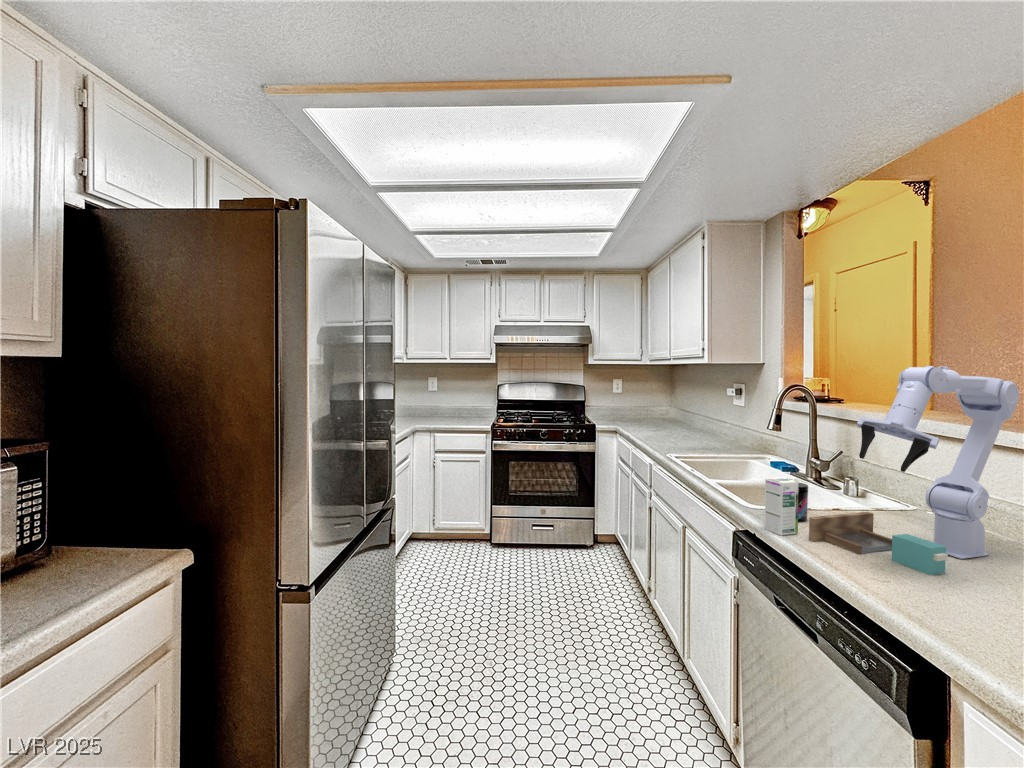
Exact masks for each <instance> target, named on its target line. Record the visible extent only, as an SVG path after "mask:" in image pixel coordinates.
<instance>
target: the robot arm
mask: <svg viewBox="0 0 1024 768" xmlns="http://www.w3.org/2000/svg"><path fill="white" fill-rule="evenodd" d="M954 392H955V394H956V395H955V396H956V398H957V400H958V403H959V404H960V407H961V410H962V412H963V414H964V415H965V416H967V417H969V418H970V419H972V423H971V425H970V427H969V429H968V431H967V434H966V437H965V439H964V441H963V444H962V446H961V448H960V450H959V453H958V454H957V458H956V460H955V462H954V465H953V467H952V468H951V472H950V473H948V474H945V475H942V476H940V477H937V478H935V479H934V482H933V484H932V485H931V486H930V487H928V489H927V490H926V492H925V503H926V504H927V507H928V508H929V509H931V513H933V514H934V529H933V530H934V532H933V542H934V543H937V544H940V545H943V546H946V554H948V556H951V557H954V558H957V559H960V560H966V559H971V558H972V559H973V558H979V557H986V556H989V553H987V552H985V534H986V533H985V531H986V530H985V529H986V528H985V526H984V524H983V522H982V520H980V519H982V518H983V517H985V515H986V514H987V511H988V502H989V499H990V494H989V492H988V490H987V489H986V488H985V487H984V486H983V484H981V483H979V481H980V478H981V476H982V474H983V471H984V468H985V466H986V464H987V462H988V459H989V457H990V455H991V452H992V450H993V448H994V445H995V442H996V440H997V438H998V435H999V433H1000V430H1001V429H1002V426H1003V424H1004V422H1005V421H1006V420H1009V419H1012V416H1013V414H1014V413H1015V410H1016V408H1017V405H1018V403H1019V401H1020V391H1019V387H1018V385H1016V383H1015V382H1014V381H1011V380H1006V381H1005V379H1002V378H995V377H987V376H976V375H973V376H972V375H961V374H960V373H958V372H957V371H955V370H953V369H949V366H936V367H935V366H934V365H925V366H924V367H923V366H922V367H920V366H919V367H918V366H913V367H912V366H911V367H907V368H906V369H904V370H902V371H900V372H899V375H898V385H897V387H896V393H897V394H896V396H895V398H894V400H893V402H892V404H891V406H890V409H889V410H888V413H887V415H886V416H885V418H884V420H882V419H875V418H874V419H873V418H866V417H862V416H860V417H859V418H858V420H857V422H856V426H857V427H858V428H861V430H860V431H861V446H860V452H859V454H858V456H859V458H860V459H861V460H864V459H865V457H866V455H867V452H868V449H869V447H870V445H871V444H872V442H873V441H874V439H875V437H876V432H879V433H882V434H885V435H888V436H892V437H895V438H900V439H903V440H906V441H910V442H912V443H911V446H910V447H909V451H908V453H907V454H906V457H905V459H903V462H902V463H901V466H900V472H902V473H906V471H907V470H908V468H909V467H910V466H912V464H913V463H914V462H916V461H917V460H918V459H919V458H921V457H923V456H924V455H926V454H927V453H928V452H929V449H930V448H931V449H932V450H933V449H934V450H937V447H938V445H939V443H940V438H939V437H937V436H933V435H931V434H927V433H925V432H923V431H921V430H917V428H918V425H919V423H920V420H921V418H922V417H923V415H924V412H925V410H926V408H927V406H928V404H929V402H930V400H931V397H932V395H933V393H934V394H935V393H936V394H952V393H954Z"/></svg>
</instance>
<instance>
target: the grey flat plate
mask: <svg viewBox="0 0 1024 768" xmlns="http://www.w3.org/2000/svg"><path fill="white" fill-rule="evenodd" d="M835 536H837V537H840V538H843V539H845V540H848V541H851V542H853V543H856V544H859V545H861V546H862V553H864V554H871V553H878V552H879V553H880V552H886V551H887V550H888V551H892V544H891V543H889V542H886V541H883V540H880V539H877V538H874V537H871V536H869V535H866V534H863V533H852V534H843V535H835Z"/></svg>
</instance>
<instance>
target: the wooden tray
mask: <svg viewBox="0 0 1024 768" xmlns="http://www.w3.org/2000/svg"><path fill="white" fill-rule="evenodd" d="M874 515H875V514H874V512H870V511H861V512H853V513H841V514H830V515H819V516H810V517H809V519H808V522H809V523H808V524H809V526H808V541H811V542H813V543H817V542H818V543H819V542H826V541H827V542H826V543H829V544H831V543H832V544H831V545H834V546H836V545H837V547H839V546H840V547H839V548H841V547H843V548H842V549H844V548H845V549H844V550H846V549H848V550H847V551H849V550H850V551H849V552H851V551H852V553H854V552H855V554H856V553H857V554H856V555H863V554H862V546H861V545H859V544H856V543H853V542H851V541H848V540H845V539H843V538H840V537H837V536H835V535H843V534H852V533H863V534H866V535H869V536H871V537H874V538H877V539H880V540H883V541H886V542H889V543H891V544H892V537H891V538H890V537H888V536H885V535H881V534H878V533H877V532H876V533H875V532H874V518H875V517H874Z"/></svg>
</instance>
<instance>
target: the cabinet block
mask: <svg viewBox="0 0 1024 768" xmlns="http://www.w3.org/2000/svg"><path fill="white" fill-rule="evenodd" d="M891 539H892V550H891V561H893V562H895V563H897V564H899V565H903V566H905V567H908V568H910V569H913V570H916V571H918V572H921V573H923V574H926V575H928V576H933V575H941V574H945V573H946V561H948V556H949V555H948V554H946V546H943V545H940V544H937V543H934V541H931V540H926V539H925V538H921V537H918V536H914V535H912V534H909V533H902V534H894V535H892V537H891Z"/></svg>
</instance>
